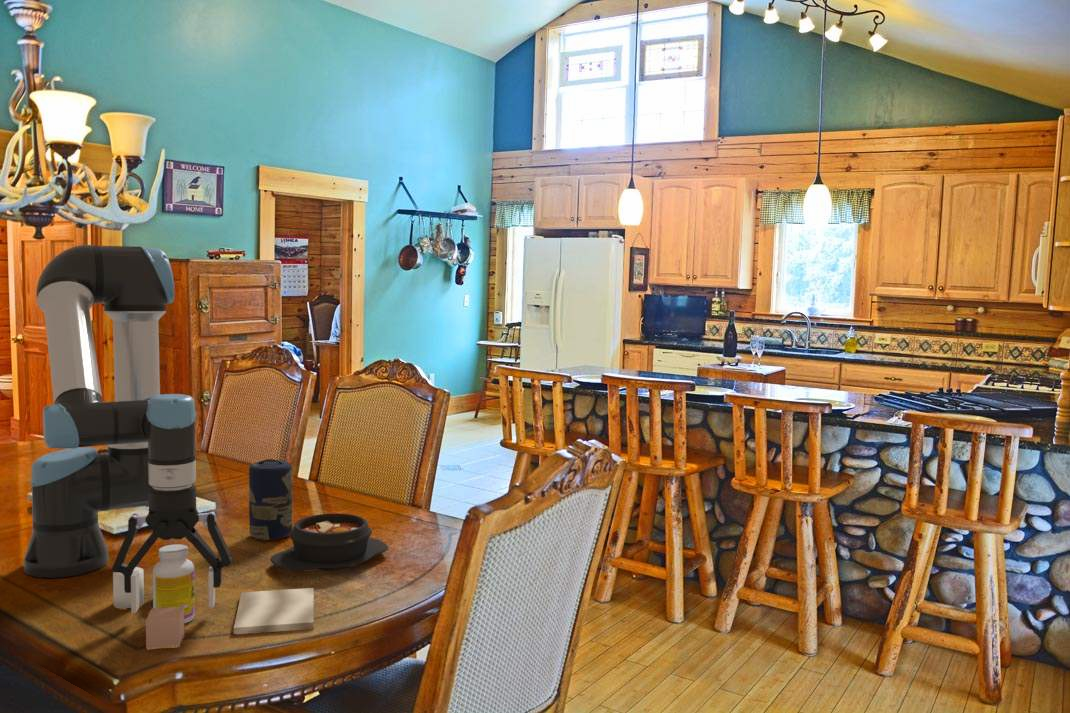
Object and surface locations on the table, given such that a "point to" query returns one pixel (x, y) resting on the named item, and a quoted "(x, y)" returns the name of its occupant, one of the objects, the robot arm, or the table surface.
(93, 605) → the table surface
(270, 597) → the birch board
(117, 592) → the white domed cylinder
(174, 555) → the supplement bottle
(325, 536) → the casserole
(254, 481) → the canister
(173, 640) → the terracotta block
